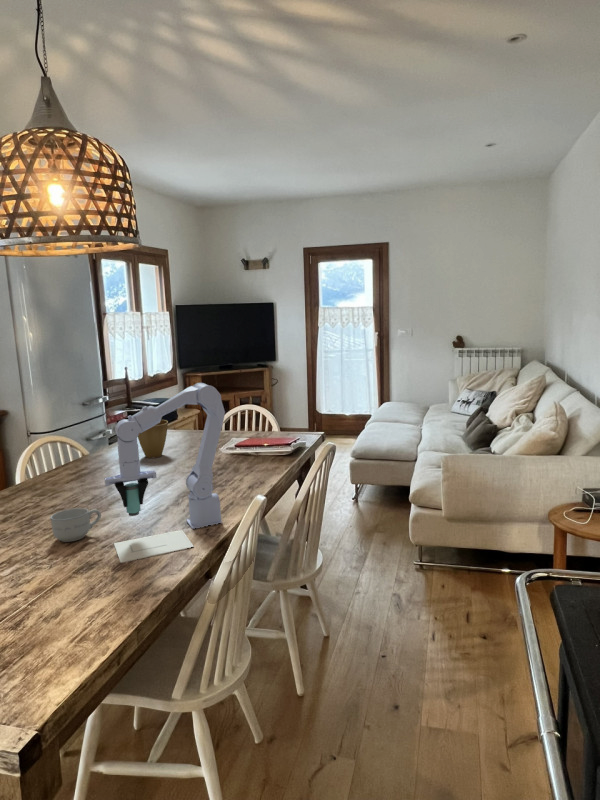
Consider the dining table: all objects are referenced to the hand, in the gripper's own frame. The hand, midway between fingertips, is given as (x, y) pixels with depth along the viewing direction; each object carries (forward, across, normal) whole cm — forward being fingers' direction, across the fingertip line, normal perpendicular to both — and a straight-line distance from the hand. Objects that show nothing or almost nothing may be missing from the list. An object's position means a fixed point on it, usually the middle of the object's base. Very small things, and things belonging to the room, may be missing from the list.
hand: (133, 504), depth 166 cm
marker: (+3, 0, 0) cm, 3 cm away
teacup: (+10, +16, -8) cm, 20 cm away
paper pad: (+10, -3, +10) cm, 14 cm away
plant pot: (+10, -23, -94) cm, 97 cm away
